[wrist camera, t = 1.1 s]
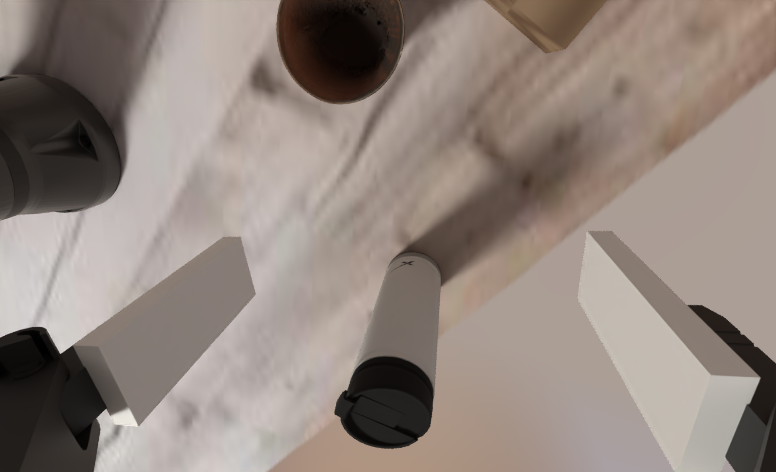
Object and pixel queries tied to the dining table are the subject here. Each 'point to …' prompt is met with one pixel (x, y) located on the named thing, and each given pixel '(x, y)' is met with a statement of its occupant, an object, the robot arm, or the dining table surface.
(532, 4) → the socket block
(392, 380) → the travel mug
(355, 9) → the cup
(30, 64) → the dining table surface
